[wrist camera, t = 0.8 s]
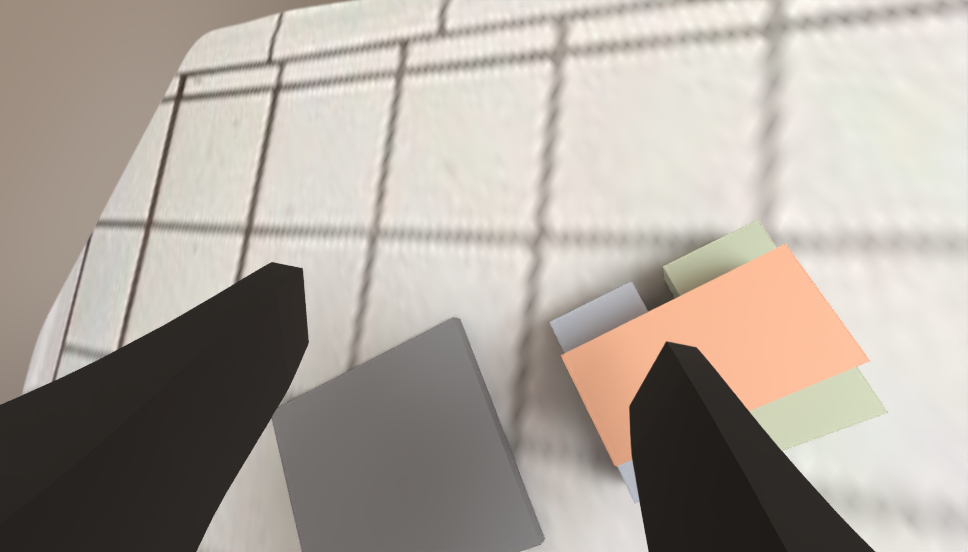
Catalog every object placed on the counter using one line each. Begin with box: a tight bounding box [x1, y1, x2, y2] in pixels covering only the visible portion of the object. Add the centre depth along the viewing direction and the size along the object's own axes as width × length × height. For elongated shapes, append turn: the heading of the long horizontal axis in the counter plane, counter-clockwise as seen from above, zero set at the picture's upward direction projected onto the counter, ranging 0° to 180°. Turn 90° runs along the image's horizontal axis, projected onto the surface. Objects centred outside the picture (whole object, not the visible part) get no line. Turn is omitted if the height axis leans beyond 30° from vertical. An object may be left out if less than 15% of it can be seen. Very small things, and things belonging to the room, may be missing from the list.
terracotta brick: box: [561, 244, 870, 467], centre depth 17 cm, size 8×4×4 cm, turn 116°
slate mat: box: [272, 318, 545, 552], centre depth 26 cm, size 12×14×1 cm
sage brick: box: [663, 220, 888, 451], centre depth 20 cm, size 8×4×4 cm, turn 24°
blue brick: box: [550, 281, 648, 503], centre depth 21 cm, size 8×4×4 cm, turn 25°
